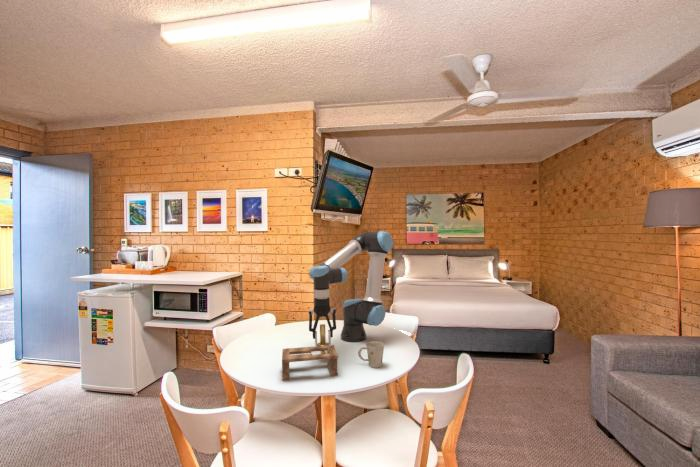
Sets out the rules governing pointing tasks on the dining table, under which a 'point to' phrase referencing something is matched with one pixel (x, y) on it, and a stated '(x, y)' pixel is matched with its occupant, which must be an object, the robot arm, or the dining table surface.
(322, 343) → the pin
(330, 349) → the keyhole shelf
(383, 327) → the dining table surface
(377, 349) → the mug
